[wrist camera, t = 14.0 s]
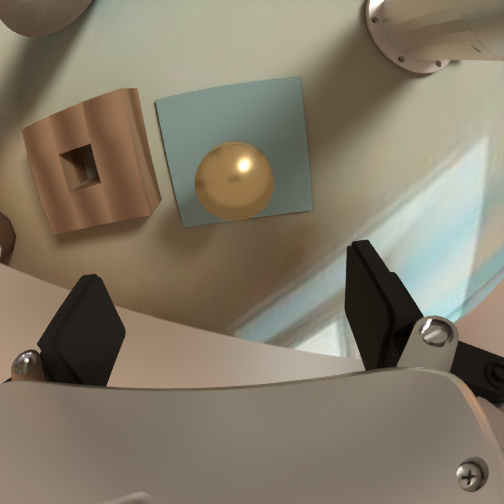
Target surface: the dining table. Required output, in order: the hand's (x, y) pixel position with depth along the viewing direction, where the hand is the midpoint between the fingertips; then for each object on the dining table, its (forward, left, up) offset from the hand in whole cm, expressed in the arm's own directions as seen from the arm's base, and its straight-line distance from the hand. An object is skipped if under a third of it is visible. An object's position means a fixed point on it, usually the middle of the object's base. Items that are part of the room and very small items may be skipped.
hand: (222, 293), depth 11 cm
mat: (0, 0, -26) cm, 26 cm away
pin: (0, 0, -26) cm, 26 cm away
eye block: (+17, -3, -26) cm, 31 cm away
